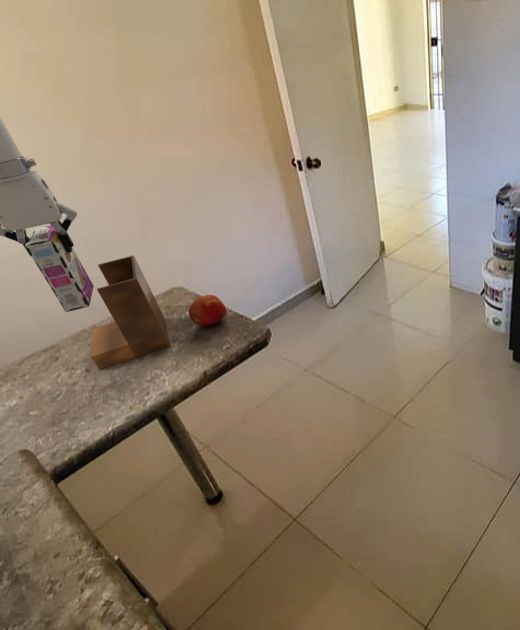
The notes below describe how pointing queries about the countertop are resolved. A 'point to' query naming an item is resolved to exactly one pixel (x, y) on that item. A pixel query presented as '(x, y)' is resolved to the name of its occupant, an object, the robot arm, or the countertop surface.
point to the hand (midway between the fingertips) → (54, 253)
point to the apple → (207, 310)
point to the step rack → (127, 316)
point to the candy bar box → (60, 269)
